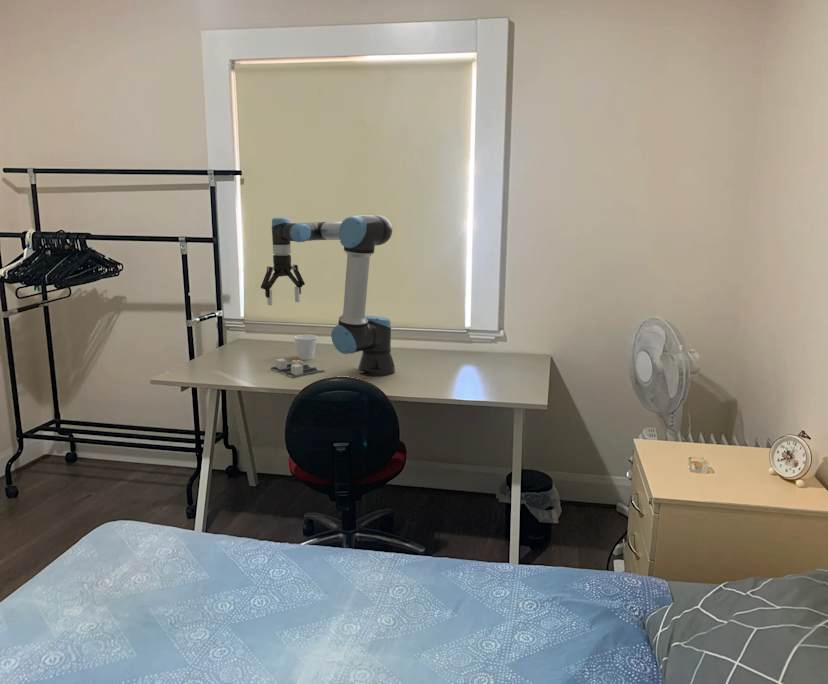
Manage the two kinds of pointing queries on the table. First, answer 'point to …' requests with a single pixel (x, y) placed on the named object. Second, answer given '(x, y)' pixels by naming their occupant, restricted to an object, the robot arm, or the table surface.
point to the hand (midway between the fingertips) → (283, 303)
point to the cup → (305, 346)
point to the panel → (306, 371)
